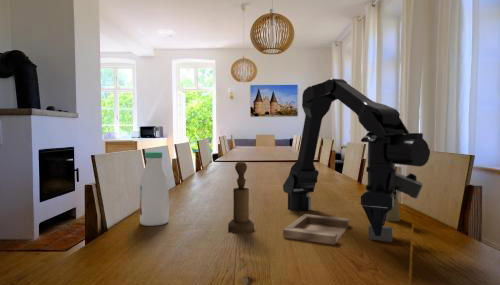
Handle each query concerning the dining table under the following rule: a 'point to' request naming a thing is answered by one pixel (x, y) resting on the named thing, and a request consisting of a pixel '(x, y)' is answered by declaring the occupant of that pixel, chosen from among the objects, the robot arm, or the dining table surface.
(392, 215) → the cork
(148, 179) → the milk bottle
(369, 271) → the dining table surface
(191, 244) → the dining table surface
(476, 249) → the dining table surface
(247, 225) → the wooden pepper mill
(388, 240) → the cover plate
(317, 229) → the wooden tray
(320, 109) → the robot arm
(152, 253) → the dining table surface
